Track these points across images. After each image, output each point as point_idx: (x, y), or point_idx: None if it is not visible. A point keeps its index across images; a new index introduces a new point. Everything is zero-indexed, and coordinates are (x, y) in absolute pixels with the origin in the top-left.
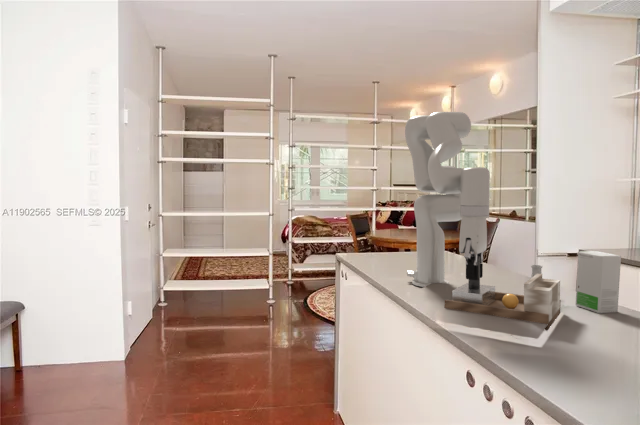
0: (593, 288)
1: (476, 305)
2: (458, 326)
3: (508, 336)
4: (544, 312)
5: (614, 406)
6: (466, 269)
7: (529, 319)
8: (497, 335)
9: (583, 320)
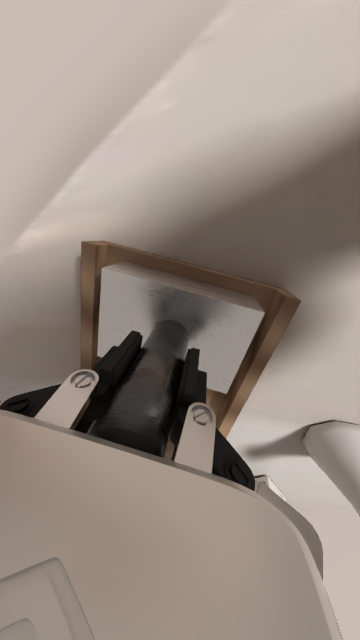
0: None
1: (82, 330)
2: (26, 284)
3: (31, 361)
4: None
5: None
6: (113, 354)
7: None
8: (24, 347)
9: None
